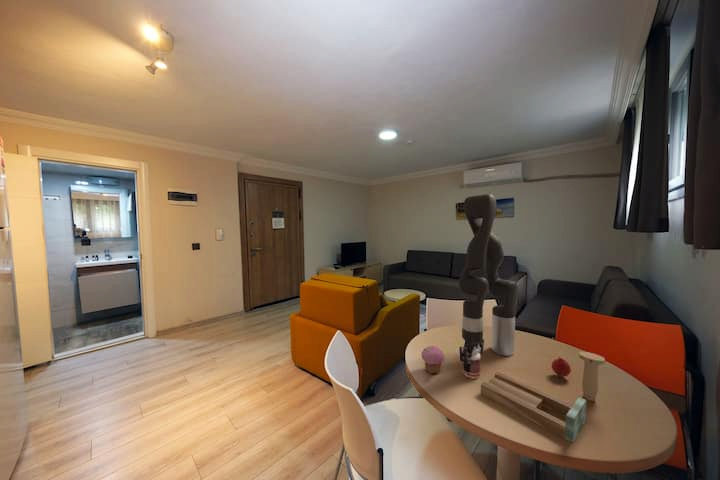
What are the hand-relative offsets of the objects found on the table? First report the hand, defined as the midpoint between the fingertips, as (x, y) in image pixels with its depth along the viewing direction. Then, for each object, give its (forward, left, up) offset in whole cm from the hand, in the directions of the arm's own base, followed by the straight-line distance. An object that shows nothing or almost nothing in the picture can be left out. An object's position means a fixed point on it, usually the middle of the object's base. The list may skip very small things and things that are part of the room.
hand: (471, 368), depth 104 cm
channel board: (+2, +21, -3) cm, 21 cm away
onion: (-25, +22, -3) cm, 33 cm away
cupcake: (+10, -11, -3) cm, 15 cm away
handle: (-18, +32, -3) cm, 37 cm away
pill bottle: (0, 0, -3) cm, 3 cm away
